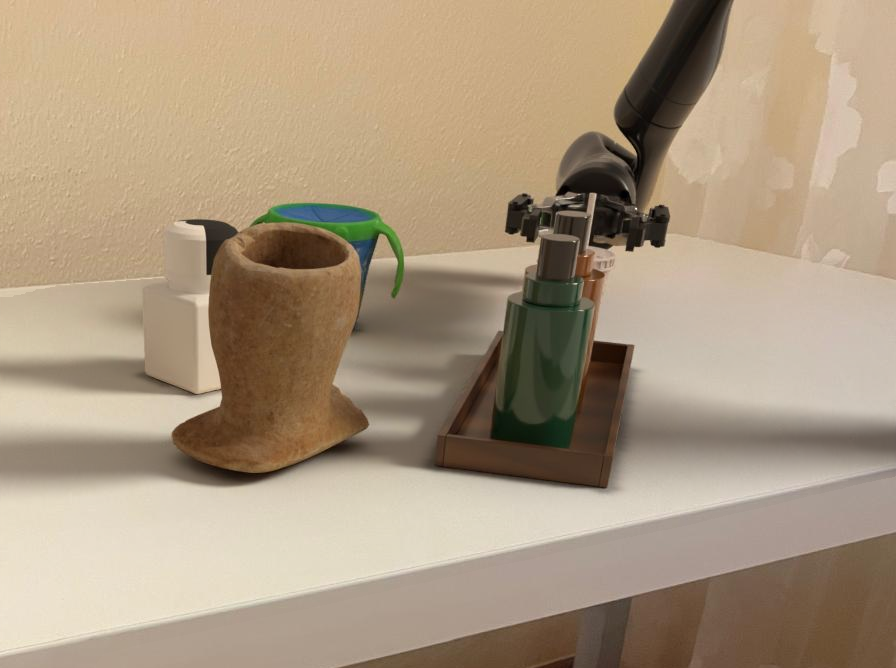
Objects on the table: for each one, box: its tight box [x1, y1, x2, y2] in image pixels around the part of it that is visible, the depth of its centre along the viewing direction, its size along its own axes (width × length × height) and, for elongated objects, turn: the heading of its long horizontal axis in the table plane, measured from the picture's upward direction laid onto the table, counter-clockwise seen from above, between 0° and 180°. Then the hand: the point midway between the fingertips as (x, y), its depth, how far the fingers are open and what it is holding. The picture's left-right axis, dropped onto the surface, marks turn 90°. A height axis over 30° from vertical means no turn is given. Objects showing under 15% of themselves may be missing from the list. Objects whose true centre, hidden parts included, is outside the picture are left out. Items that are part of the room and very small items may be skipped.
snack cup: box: [248, 202, 405, 329], centre depth 113 cm, size 16×10×10 cm
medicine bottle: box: [141, 218, 240, 395], centre depth 97 cm, size 7×7×12 cm
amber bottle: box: [521, 211, 605, 413], centre depth 92 cm, size 6×6×14 cm
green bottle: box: [489, 234, 595, 449], centre depth 84 cm, size 6×6×14 cm
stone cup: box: [171, 222, 370, 474], centre depth 82 cm, size 15×12×15 cm
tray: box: [434, 330, 635, 489], centre depth 96 cm, size 31×12×2 cm, turn 164°
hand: (581, 234), depth 103 cm, fingers open, 8 cm apart
